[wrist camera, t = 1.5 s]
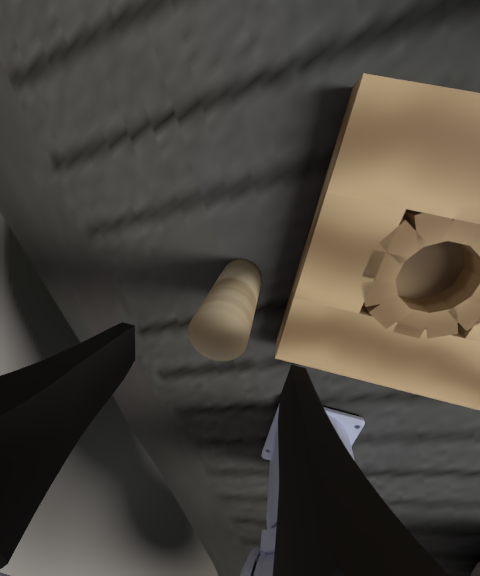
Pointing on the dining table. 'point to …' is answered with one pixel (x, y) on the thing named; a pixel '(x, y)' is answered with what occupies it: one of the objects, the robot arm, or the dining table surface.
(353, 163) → the bore board
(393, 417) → the dining table surface
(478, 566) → the ceramic pitcher
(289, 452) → the robot arm
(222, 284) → the dowel
